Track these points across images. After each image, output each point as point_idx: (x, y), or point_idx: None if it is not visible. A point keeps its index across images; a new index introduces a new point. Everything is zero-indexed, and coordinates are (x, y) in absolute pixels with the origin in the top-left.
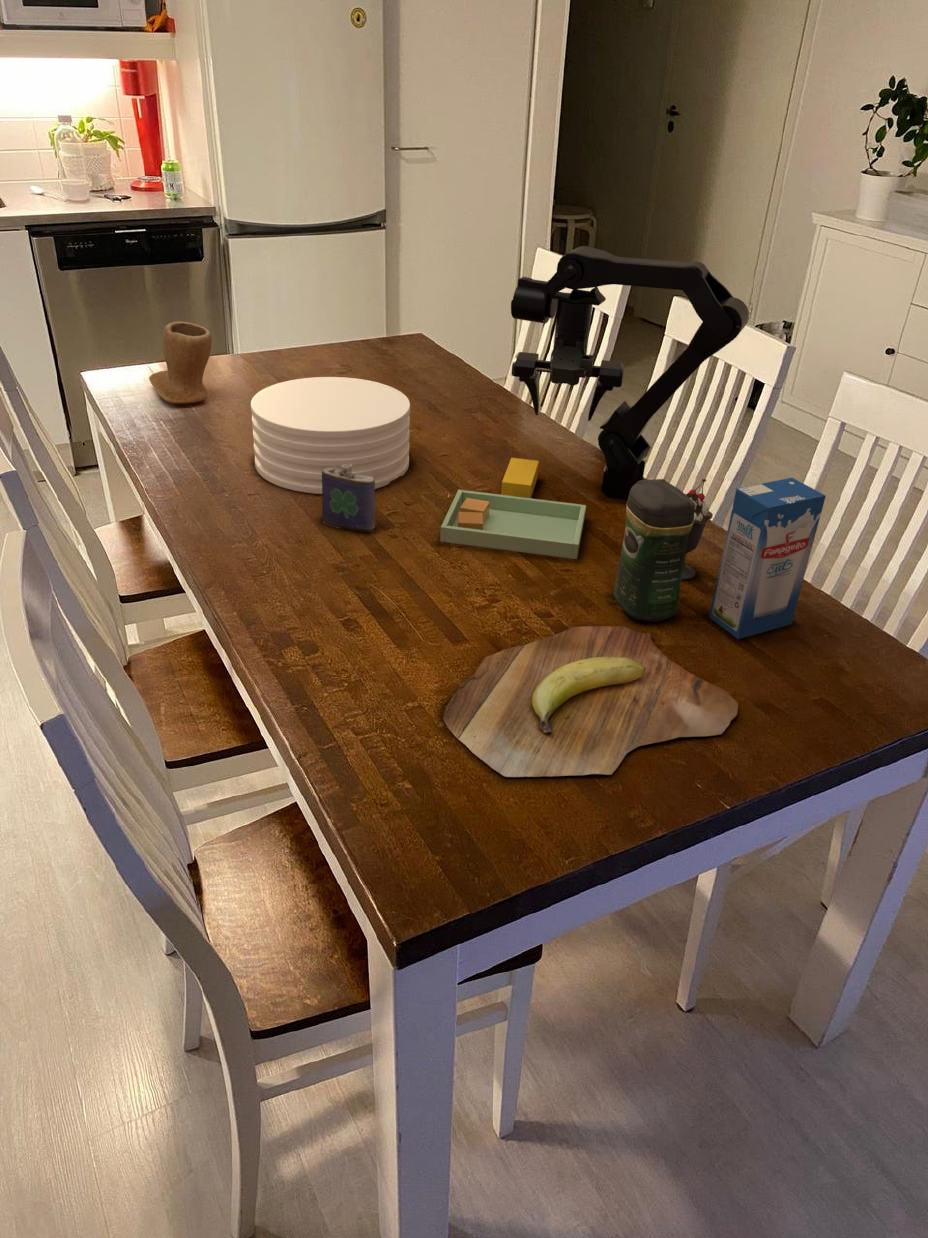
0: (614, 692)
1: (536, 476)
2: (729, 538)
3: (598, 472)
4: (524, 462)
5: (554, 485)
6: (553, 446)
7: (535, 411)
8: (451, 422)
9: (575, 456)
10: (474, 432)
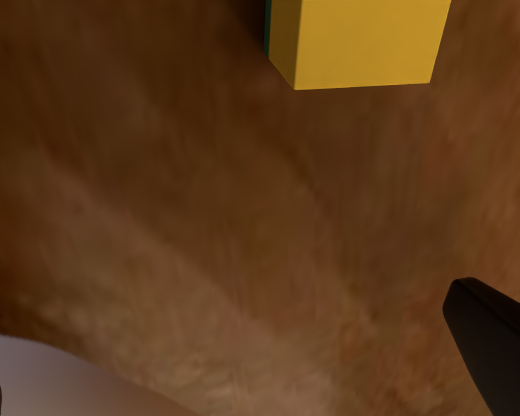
0: None
1: (279, 4)
2: None
3: (20, 232)
4: (369, 39)
5: (177, 33)
6: (232, 343)
7: (496, 294)
8: None
9: (148, 313)
10: None
